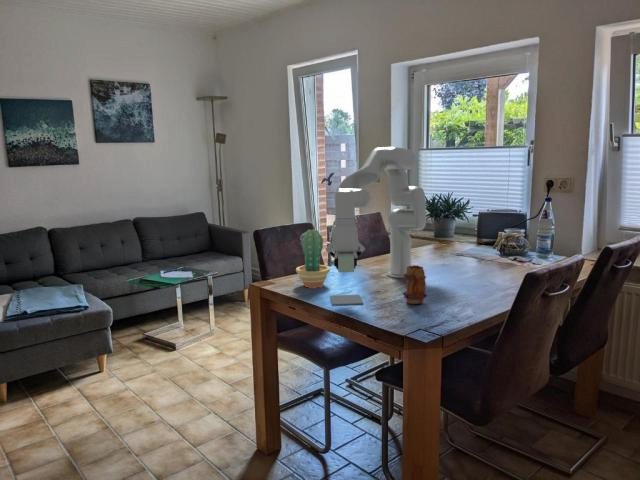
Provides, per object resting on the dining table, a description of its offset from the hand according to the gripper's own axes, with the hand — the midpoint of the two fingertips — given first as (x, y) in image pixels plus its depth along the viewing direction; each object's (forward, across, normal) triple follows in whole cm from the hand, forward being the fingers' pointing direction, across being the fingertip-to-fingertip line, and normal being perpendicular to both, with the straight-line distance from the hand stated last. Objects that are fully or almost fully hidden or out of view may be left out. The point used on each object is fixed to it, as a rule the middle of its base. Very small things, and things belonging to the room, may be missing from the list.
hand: (345, 267), depth 196 cm
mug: (+14, -26, +9) cm, 31 cm away
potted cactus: (+14, +12, -25) cm, 31 cm away
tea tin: (+1, 0, 0) cm, 1 cm away
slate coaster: (+13, 0, 0) cm, 13 cm away
